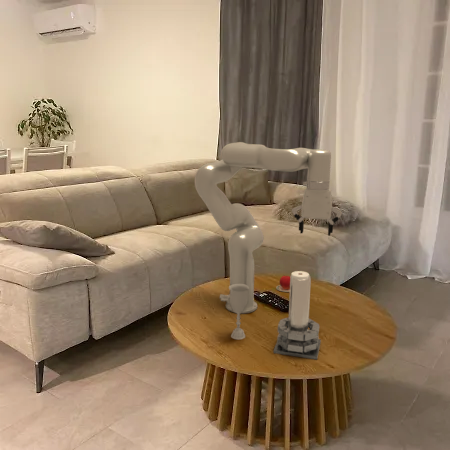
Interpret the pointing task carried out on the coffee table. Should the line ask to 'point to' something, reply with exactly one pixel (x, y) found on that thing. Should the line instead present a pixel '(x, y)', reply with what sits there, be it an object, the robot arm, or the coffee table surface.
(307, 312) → the silver metal cylinder
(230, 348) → the coffee table surface
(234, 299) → the chalice
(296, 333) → the collar stand
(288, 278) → the apple
